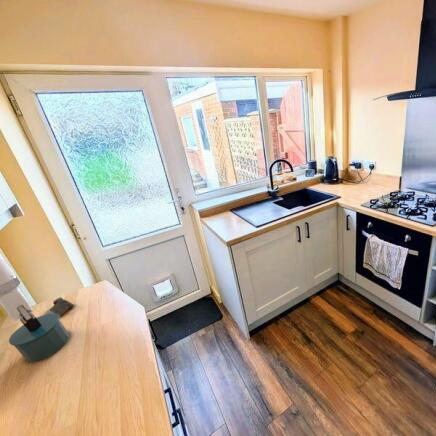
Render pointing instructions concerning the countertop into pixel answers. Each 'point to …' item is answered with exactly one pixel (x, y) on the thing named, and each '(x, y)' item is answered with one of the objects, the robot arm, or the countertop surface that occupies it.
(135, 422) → the countertop surface
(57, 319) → the lid
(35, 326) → the robot arm
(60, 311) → the chocolate cake
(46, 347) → the tin
